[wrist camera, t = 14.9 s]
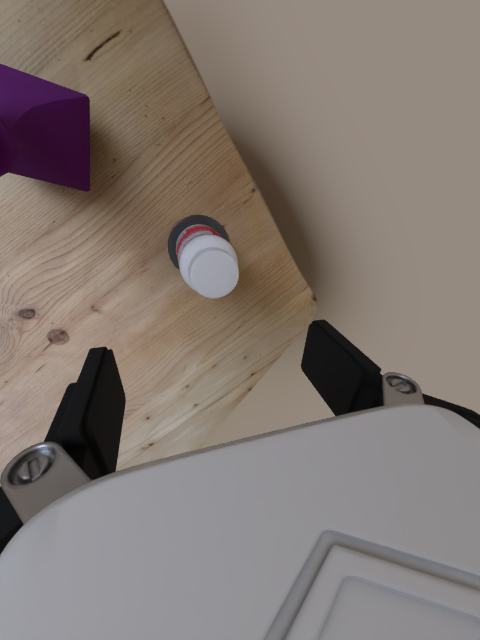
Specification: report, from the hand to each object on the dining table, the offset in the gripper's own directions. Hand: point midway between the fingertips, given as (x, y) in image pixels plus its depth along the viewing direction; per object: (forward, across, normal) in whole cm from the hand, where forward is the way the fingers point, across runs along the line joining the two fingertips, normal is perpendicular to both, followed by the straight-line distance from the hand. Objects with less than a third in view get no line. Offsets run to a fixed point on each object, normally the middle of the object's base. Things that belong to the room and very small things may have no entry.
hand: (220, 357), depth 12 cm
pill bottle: (+24, -2, +1) cm, 24 cm away
